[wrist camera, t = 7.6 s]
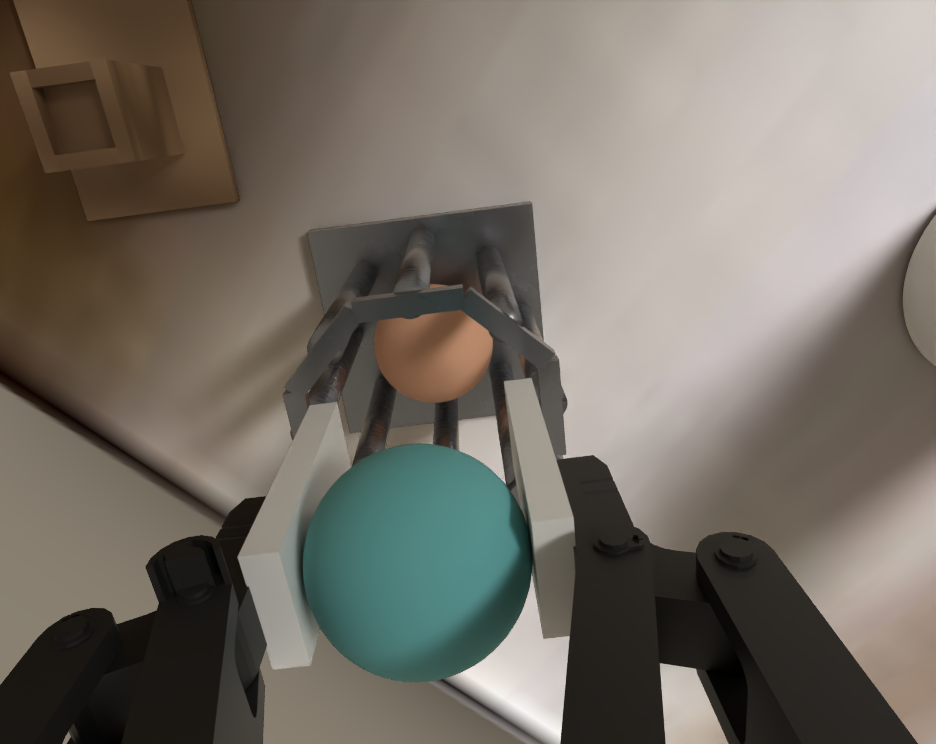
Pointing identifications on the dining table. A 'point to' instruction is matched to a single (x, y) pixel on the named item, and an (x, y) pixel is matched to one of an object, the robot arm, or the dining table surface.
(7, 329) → the dining table surface
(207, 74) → the rack
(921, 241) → the container
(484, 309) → the grey barred cage
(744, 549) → the robot arm
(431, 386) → the tube ball
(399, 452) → the teal ball
